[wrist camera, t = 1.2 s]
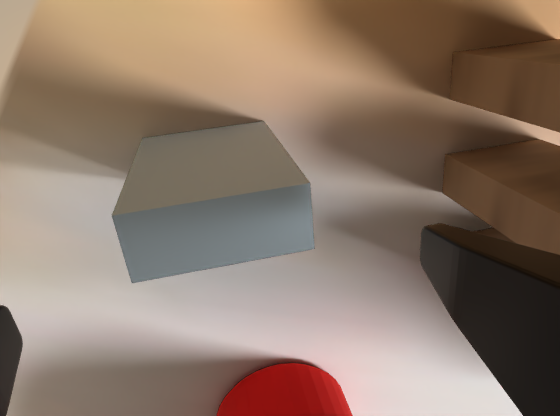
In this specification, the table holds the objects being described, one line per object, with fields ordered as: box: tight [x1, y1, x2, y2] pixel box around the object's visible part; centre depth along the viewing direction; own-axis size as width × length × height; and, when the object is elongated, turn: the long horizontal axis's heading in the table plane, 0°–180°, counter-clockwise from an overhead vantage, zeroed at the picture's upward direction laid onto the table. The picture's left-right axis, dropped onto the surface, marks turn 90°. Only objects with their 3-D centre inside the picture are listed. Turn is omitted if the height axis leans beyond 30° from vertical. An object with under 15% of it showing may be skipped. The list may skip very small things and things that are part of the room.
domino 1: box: [112, 121, 315, 283], centre depth 14 cm, size 5×2×8 cm, turn 96°
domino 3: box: [442, 139, 560, 255], centre depth 17 cm, size 5×2×8 cm, turn 96°
